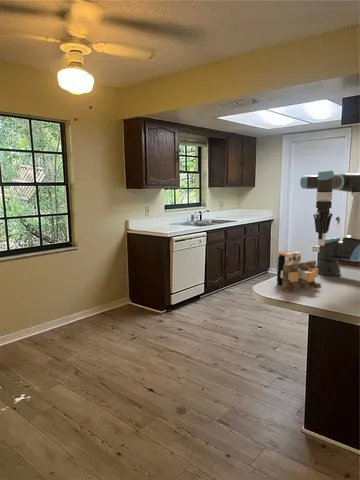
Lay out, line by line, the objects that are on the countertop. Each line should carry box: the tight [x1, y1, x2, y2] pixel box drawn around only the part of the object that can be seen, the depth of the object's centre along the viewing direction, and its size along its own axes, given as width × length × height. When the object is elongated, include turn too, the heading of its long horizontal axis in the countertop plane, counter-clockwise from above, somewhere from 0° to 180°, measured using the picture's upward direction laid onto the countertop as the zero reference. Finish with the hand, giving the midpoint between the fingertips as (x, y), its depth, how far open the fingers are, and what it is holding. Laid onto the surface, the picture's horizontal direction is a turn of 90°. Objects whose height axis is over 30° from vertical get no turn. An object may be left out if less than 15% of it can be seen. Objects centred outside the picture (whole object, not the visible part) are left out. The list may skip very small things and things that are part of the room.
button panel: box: [281, 251, 322, 294], centre depth 191 cm, size 24×6×20 cm, turn 122°
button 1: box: [281, 270, 299, 282], centre depth 189 cm, size 5×8×5 cm, turn 32°
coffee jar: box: [276, 250, 294, 286], centre depth 200 cm, size 11×11×18 cm
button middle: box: [298, 270, 316, 282], centre depth 189 cm, size 5×8×5 cm, turn 32°
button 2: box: [308, 268, 319, 278], centre depth 197 cm, size 5×8×5 cm, turn 32°
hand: (321, 245), depth 188 cm, fingers closed
